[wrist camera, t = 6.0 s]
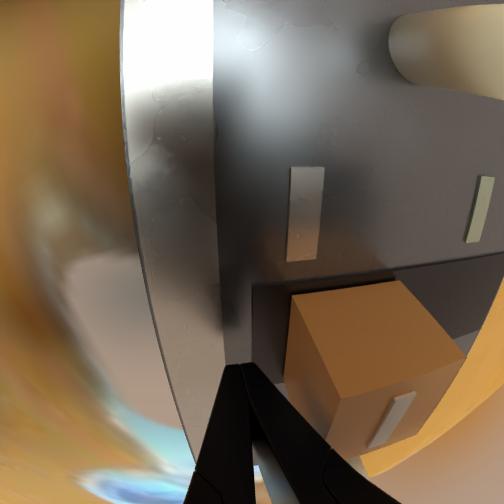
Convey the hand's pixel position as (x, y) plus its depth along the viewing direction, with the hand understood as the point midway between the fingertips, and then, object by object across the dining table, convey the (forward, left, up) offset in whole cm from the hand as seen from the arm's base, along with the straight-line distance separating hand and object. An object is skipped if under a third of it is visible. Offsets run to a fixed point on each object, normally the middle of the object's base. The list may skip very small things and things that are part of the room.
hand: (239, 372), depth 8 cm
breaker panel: (+1, -5, -4) cm, 6 cm away
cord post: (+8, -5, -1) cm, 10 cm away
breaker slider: (0, -3, -1) cm, 3 cm away
